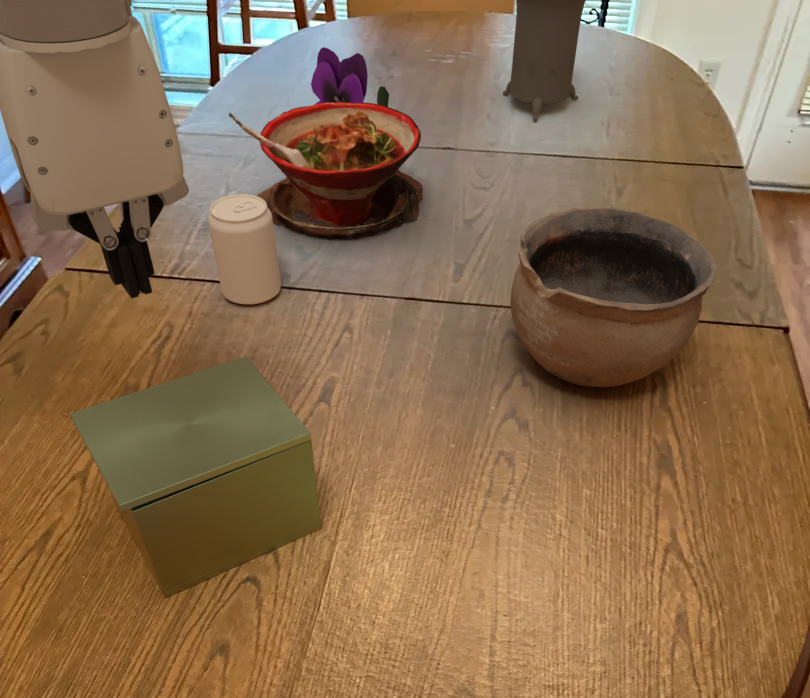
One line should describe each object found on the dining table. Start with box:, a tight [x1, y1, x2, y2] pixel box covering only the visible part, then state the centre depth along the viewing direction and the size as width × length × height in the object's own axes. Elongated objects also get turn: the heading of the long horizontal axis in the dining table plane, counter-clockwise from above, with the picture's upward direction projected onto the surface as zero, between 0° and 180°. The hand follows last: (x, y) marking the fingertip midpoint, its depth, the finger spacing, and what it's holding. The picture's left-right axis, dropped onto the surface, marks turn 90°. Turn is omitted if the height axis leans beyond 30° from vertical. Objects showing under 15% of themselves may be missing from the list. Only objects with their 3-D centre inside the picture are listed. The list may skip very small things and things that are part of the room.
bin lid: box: [69, 355, 312, 512], centre depth 71 cm, size 17×14×1 cm
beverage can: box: [207, 193, 282, 305], centre depth 104 cm, size 8×8×12 cm
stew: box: [228, 102, 424, 241], centre depth 117 cm, size 28×24×16 cm
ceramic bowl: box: [509, 206, 717, 388], centre depth 92 cm, size 22×22×15 cm
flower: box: [310, 46, 390, 107], centre depth 139 cm, size 15×15×14 cm
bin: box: [109, 439, 322, 599], centre depth 76 cm, size 17×14×12 cm
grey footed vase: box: [502, 0, 587, 123], centre depth 143 cm, size 19×15×25 cm
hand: (135, 286), depth 60 cm, fingers closed
